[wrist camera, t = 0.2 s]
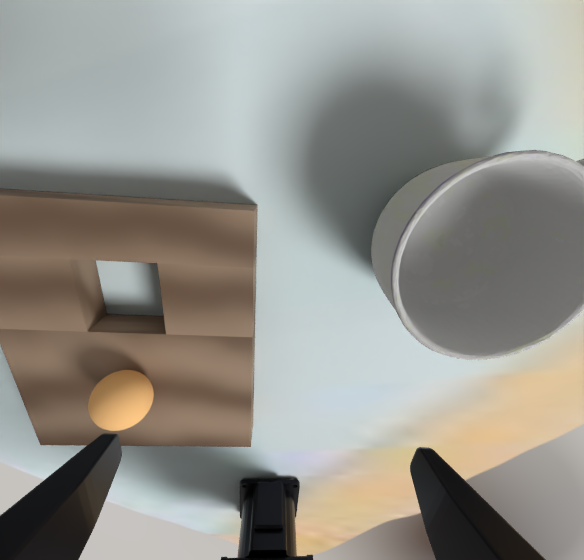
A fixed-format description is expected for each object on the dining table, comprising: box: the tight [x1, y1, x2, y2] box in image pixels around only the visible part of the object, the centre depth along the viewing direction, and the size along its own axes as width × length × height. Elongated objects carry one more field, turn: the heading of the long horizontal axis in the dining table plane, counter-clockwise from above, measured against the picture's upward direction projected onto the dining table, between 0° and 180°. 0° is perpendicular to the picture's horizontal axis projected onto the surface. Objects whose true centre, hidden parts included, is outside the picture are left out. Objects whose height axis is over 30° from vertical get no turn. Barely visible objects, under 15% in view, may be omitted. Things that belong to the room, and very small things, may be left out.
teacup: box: [371, 150, 584, 360], centre depth 17 cm, size 14×11×8 cm
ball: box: [88, 370, 154, 431], centre depth 20 cm, size 4×4×4 cm
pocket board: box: [0, 189, 257, 447], centre depth 22 cm, size 21×18×2 cm
